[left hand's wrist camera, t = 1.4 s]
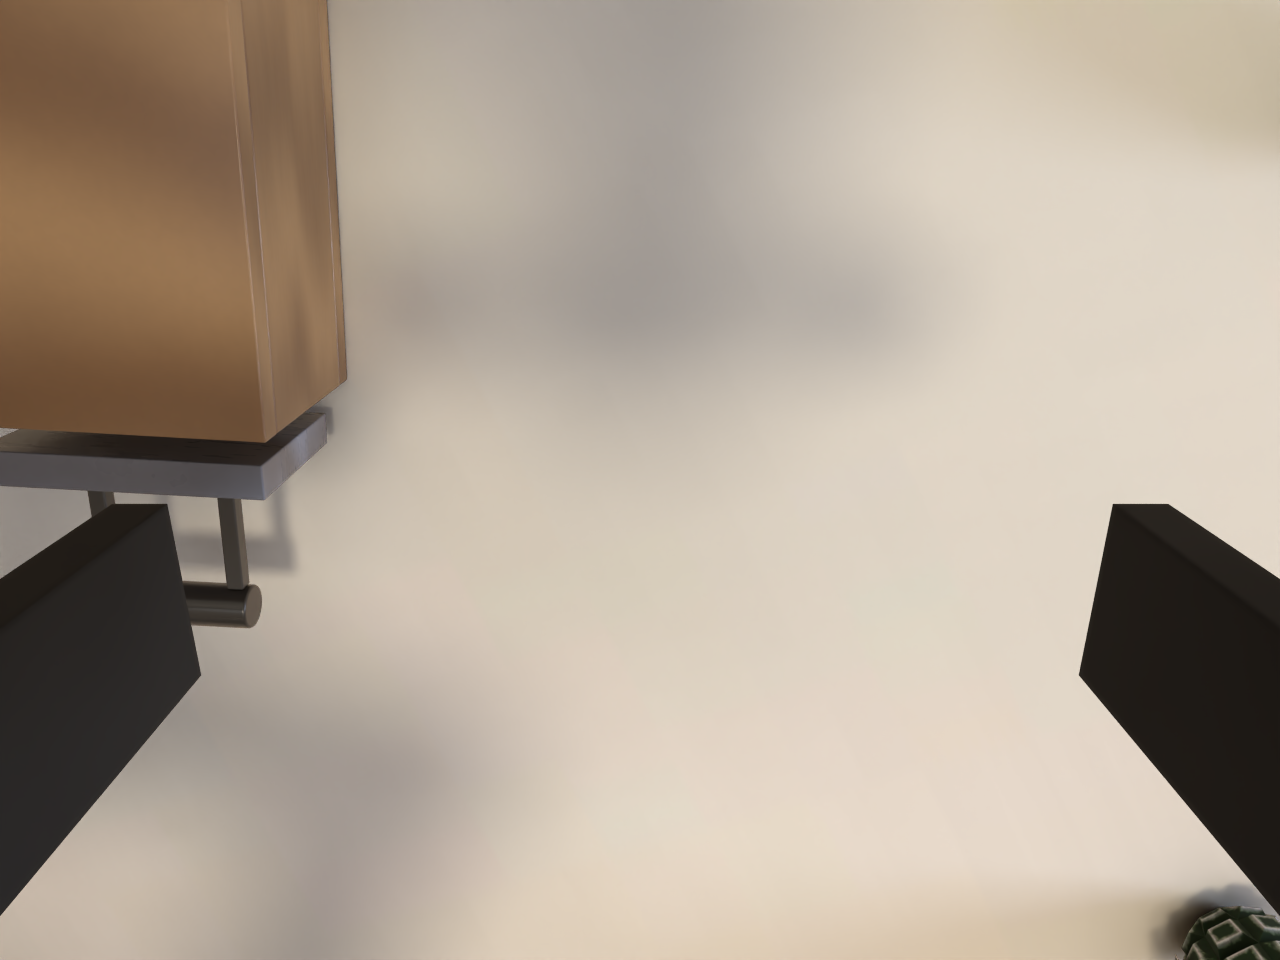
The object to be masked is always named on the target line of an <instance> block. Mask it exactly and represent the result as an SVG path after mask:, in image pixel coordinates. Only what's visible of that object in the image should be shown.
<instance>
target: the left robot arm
mask: <svg viewBox="0 0 1280 960" xmlns="http://www.w3.org/2000/svg"><path fill="white" fill-rule="evenodd" d="M200 676H201V672H200V667H199V662H198V657H197V652H196V647H195V642H194V637H193V632H192V627H191V622H190V617H189V612H188V607H187V602H186V597H185V592H184V587H183V582H182V577H181V572H180V567H179V562H178V557H177V552H176V547H175V541H174V536H173V531H172V526H171V521H170V516H169V511H168V506H167V504H111V505H110V506H108V507H107V508H105V509H104V510H102V511H101V512H99V513H98V514H96V515H95V516H93V517H92V518H90V519H89V520H87V521H86V522H84V523H83V524H81V525H80V526H78V527H77V528H75V529H74V530H72V531H71V532H69V533H68V534H66V535H65V536H63V537H62V538H61V539H59V540H58V541H56V542H55V543H53V544H52V545H50V546H49V547H47V548H46V549H44V550H43V551H41V552H40V553H38V554H37V555H35V556H34V557H32V558H31V559H29V560H28V561H26V562H25V563H23V564H22V565H20V566H19V567H17V568H16V569H14V570H13V571H11V572H10V573H8V574H7V575H5V576H4V577H2V578H1V579H0V916H1V914H2V913H3V912H4V911H5V910H6V908H7V907H8V906H9V905H10V904H11V902H12V901H13V900H14V899H15V898H16V896H17V895H18V894H19V893H20V892H21V890H22V889H23V888H24V887H25V886H26V884H27V883H28V882H29V881H30V880H31V878H32V877H33V876H34V875H35V874H36V872H37V871H38V870H39V869H40V868H41V866H42V865H43V864H44V863H45V862H46V860H47V859H48V858H49V857H50V856H51V854H52V853H53V852H54V851H55V850H56V848H57V847H58V846H59V845H60V844H61V842H62V841H63V840H64V839H65V838H66V836H67V835H68V834H69V833H70V832H71V830H72V829H73V828H74V827H75V826H76V824H77V823H78V822H79V821H80V820H81V818H82V817H83V816H84V815H85V814H86V812H87V811H88V810H89V809H90V808H91V806H92V805H93V804H94V803H95V802H96V801H97V799H98V798H99V797H100V796H101V795H102V793H103V792H104V791H105V790H106V789H107V787H108V786H109V785H110V784H111V783H112V781H113V780H114V779H115V778H116V777H117V775H118V774H119V773H120V772H121V771H122V769H123V768H124V767H125V766H126V765H127V763H128V762H129V761H130V760H131V759H132V757H133V756H134V755H135V754H136V753H137V751H138V750H139V749H140V748H141V747H142V745H143V744H144V743H145V742H146V741H147V739H148V738H149V737H150V736H151V735H152V733H153V732H154V731H155V730H156V729H157V727H158V726H159V725H160V724H161V723H162V721H163V720H164V719H165V718H166V717H167V715H168V714H169V713H170V712H171V711H172V709H173V708H174V707H175V706H176V705H177V703H178V702H179V701H180V700H181V699H182V697H183V696H184V695H185V694H186V693H187V691H188V690H189V689H190V688H191V687H192V685H193V684H194V683H195V682H196V681H197V679H198V678H199V677H200ZM1079 676H1080V677H1081V678H1082V679H1083V681H1084V682H1085V683H1086V684H1087V685H1088V687H1089V688H1090V689H1091V690H1092V691H1093V693H1094V694H1095V695H1096V696H1097V697H1098V699H1099V700H1100V701H1101V702H1102V703H1103V705H1104V706H1105V707H1106V708H1107V709H1108V711H1109V712H1110V713H1111V714H1112V715H1113V717H1114V718H1115V719H1116V720H1117V721H1118V723H1119V724H1120V725H1121V726H1122V727H1123V729H1124V730H1125V731H1126V732H1127V733H1128V735H1129V736H1130V737H1131V738H1132V739H1133V741H1134V742H1135V743H1136V744H1137V745H1138V747H1139V748H1140V749H1141V750H1142V751H1143V753H1144V754H1145V755H1146V756H1147V757H1148V759H1149V760H1150V761H1151V762H1152V763H1153V765H1154V766H1155V767H1156V768H1157V769H1158V771H1159V772H1160V773H1161V774H1162V775H1163V777H1164V778H1165V779H1166V780H1167V781H1168V783H1169V784H1170V785H1171V786H1172V787H1173V789H1174V790H1175V791H1176V792H1177V793H1178V795H1179V796H1180V797H1181V798H1182V799H1183V801H1184V802H1185V803H1186V804H1187V805H1188V806H1189V808H1190V809H1191V810H1192V811H1193V812H1194V814H1195V815H1196V816H1197V817H1198V818H1199V820H1200V821H1201V822H1202V823H1203V824H1204V826H1205V827H1206V828H1207V829H1208V830H1209V832H1210V833H1211V834H1212V835H1213V836H1214V838H1215V839H1216V840H1217V841H1218V842H1219V844H1220V845H1221V846H1222V847H1223V848H1224V850H1225V851H1226V852H1227V853H1228V854H1229V856H1230V857H1231V858H1232V859H1233V860H1234V862H1235V863H1236V864H1237V865H1238V866H1239V868H1240V869H1241V870H1242V871H1243V872H1244V874H1245V875H1246V876H1247V877H1248V878H1249V880H1250V881H1251V882H1252V883H1253V884H1254V886H1255V887H1256V888H1257V889H1258V890H1259V892H1260V893H1261V894H1262V895H1263V896H1264V898H1265V899H1266V900H1267V901H1268V902H1269V904H1270V905H1271V906H1272V907H1273V908H1274V910H1275V911H1276V912H1277V913H1278V914H1279V916H1280V579H1279V578H1278V577H1276V576H1275V575H1273V574H1272V573H1270V572H1269V571H1267V570H1266V569H1264V568H1263V567H1261V566H1260V565H1258V564H1257V563H1255V562H1254V561H1252V560H1251V559H1249V558H1248V557H1246V556H1245V555H1243V554H1242V553H1240V552H1239V551H1237V550H1236V549H1234V548H1233V547H1231V546H1230V545H1228V544H1227V543H1225V542H1224V541H1222V540H1221V539H1219V538H1218V537H1217V536H1215V535H1214V534H1212V533H1211V532H1209V531H1208V530H1206V529H1205V528H1203V527H1202V526H1200V525H1199V524H1197V523H1196V522H1194V521H1193V520H1191V519H1190V518H1188V517H1187V516H1185V515H1184V514H1182V513H1181V512H1179V511H1178V510H1176V509H1175V508H1173V507H1172V506H1170V505H1169V504H1113V506H1112V511H1111V516H1110V521H1109V526H1108V531H1107V536H1106V541H1105V547H1104V552H1103V557H1102V562H1101V567H1100V572H1099V577H1098V582H1097V587H1096V592H1095V597H1094V602H1093V607H1092V612H1091V617H1090V622H1089V627H1088V632H1087V637H1086V642H1085V647H1084V652H1083V657H1082V662H1081V667H1080V672H1079Z"/></svg>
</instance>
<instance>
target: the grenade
mask: <svg viewBox="0 0 1280 960" xmlns="http://www.w3.org/2000/svg"><path fill="white" fill-rule="evenodd" d="M1182 950H1183V951H1184V952H1185V955H1184V959H1183V960H1280V922H1279V921H1278V919H1277V917H1276V916H1273V915H1267V914H1265V913H1264V912H1263V910H1262V909H1261V908H1254V907H1245V906H1235V907H1219V908H1217V909H1215V910H1213V911H1211V912H1209V913H1207V914H1205V915H1203V916H1201V917H1199V918H1198V920H1197V921H1196V922H1195V924H1194V925H1193V927H1192V928H1191V930H1190V931H1189V932H1188V935H1187V937H1186V939H1185V941H1184V943H1183V946H1182ZM1175 960H1179V959H1178V957H1177V956H1176V954H1175Z"/></svg>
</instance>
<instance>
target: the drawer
mask: <svg viewBox="0 0 1280 960" xmlns="http://www.w3.org/2000/svg"><path fill="white" fill-rule="evenodd" d="M326 443H327V433H326V417H325V414H324V413H307V412H304V413H303V414H301V415H300V416H299V417H298V418H296V419H295V420H294V421H292V422H291V423H290V424H288V425H287V426H286V427H285V428H283V429H282V430H281V431H279V432H278V433H276V435H275V436H273V437H272V438H271V439H269V440H268V441H267V442H265V443H262V442H244V441H227V440H209V439H191V438H173V437H155V436H138V435H120V434H102V433H84V432H67V431H49V430H31V429H19V430H16V431H14V432H12V433H10V434H7V435H5V436H3V437H1V438H0V486H13V487H31V488H49V489H67V490H86V491H88V496H89V502H90V509H91V515H92V517H93V516H95V515H96V514H98V513H99V512H101V511H102V510H104V509H105V508H107V507H108V506H110V505H111V504H115V499H114V492H122V493H140V494H159V495H177V496H195V497H213V498H218V508H219V517H220V526H221V535H222V544H223V553H224V563H225V572H226V581H227V583H213V582H194V581H182V582H183V587H184V592H185V597H186V602H187V607H188V612H189V617H190V622H191V625H196V626H215V627H235V628H251V627H253V626H255V624H256V623H257V621H258V619H259V616H260V612H261V607H262V596H261V591H260V589H259V587H258V586H256V585H251V584H249V574H248V564H247V554H246V544H245V534H244V524H243V514H242V504H241V499H250V500H265V499H266V498H267V497H268V496H269V495H271V494H272V493H273V492H274V491H275V490H276V489H277V488H278V487H279V486H280V485H281V484H283V483H284V482H285V481H286V480H287V479H288V478H289V477H290V476H291V475H292V474H293V473H294V472H296V471H297V470H298V469H299V468H300V467H301V466H302V465H303V464H304V463H305V462H306V461H308V460H309V459H310V458H311V457H312V456H313V455H314V454H315V453H316V452H317V451H318V450H319V449H321V448H322V447H323V446H324V445H325V444H326Z"/></svg>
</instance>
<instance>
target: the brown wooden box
mask: <svg viewBox="0 0 1280 960" xmlns="http://www.w3.org/2000/svg"><path fill="white" fill-rule="evenodd" d="M346 379H347V374H346V355H345V336H344V318H343V299H342V280H341V262H340V243H339V224H338V206H337V187H336V168H335V150H334V131H333V112H332V94H331V75H330V56H329V38H328V19H327V0H0V428H13V429H31V430H49V431H67V432H84V433H102V434H120V435H138V436H155V437H173V438H191V439H209V440H227V441H244V442H262V443H265V442H267V441H268V440H269V439H271V438H272V437H273V436H275V435H276V433H278V432H279V431H281V430H282V429H283V428H285V427H286V426H287V425H288V424H290V423H291V422H292V421H294V420H295V419H296V418H298V417H299V416H300V415H301V414H303V413H304V412H305V411H307V410H308V409H309V408H311V407H312V406H313V405H314V404H316V403H317V402H318V401H320V400H321V399H322V398H324V397H325V396H326V395H328V394H329V393H330V392H331V391H333V390H334V389H335V388H337V387H338V386H339V385H340V384H342V383H343V382H344V381H345V380H346Z"/></svg>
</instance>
